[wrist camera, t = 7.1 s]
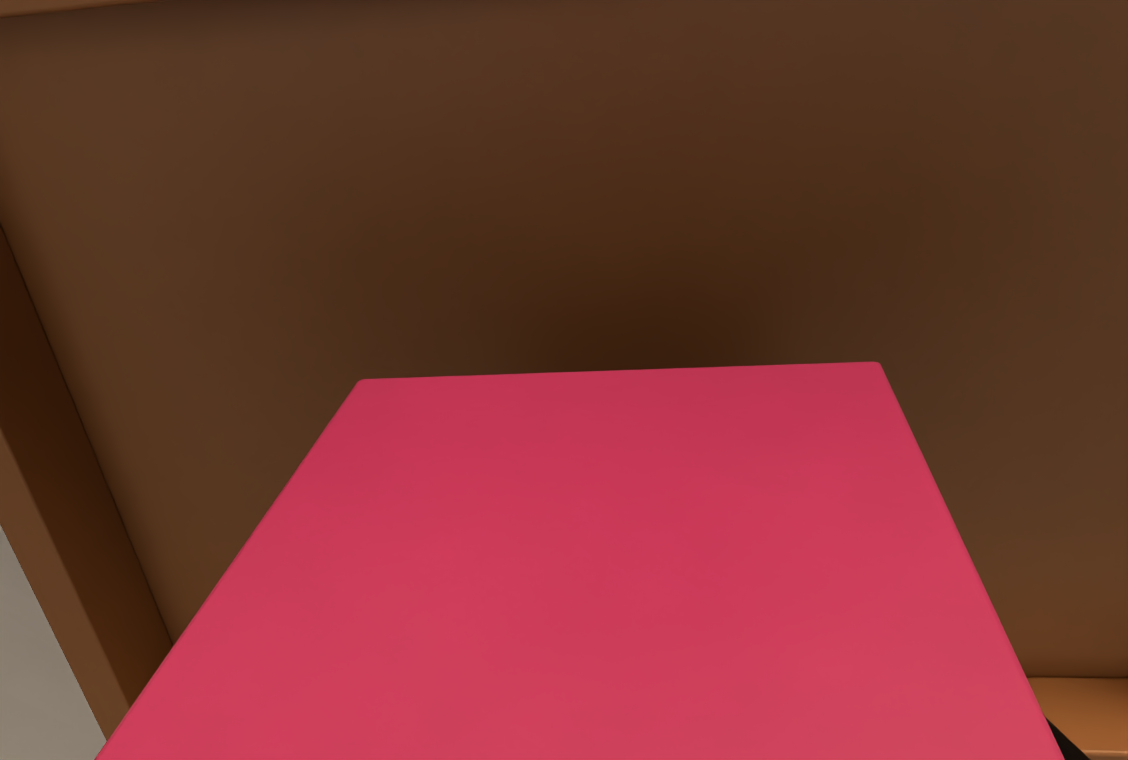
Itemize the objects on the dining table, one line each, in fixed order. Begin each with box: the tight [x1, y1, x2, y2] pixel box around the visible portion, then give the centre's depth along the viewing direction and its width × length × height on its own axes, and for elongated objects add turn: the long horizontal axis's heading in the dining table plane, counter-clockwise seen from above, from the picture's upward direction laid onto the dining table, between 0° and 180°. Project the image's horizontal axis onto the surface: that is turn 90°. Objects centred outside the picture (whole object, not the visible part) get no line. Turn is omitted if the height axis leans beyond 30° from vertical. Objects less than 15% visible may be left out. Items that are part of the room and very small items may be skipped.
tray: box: [0, 0, 1128, 760], centre depth 13 cm, size 21×14×2 cm, turn 96°
